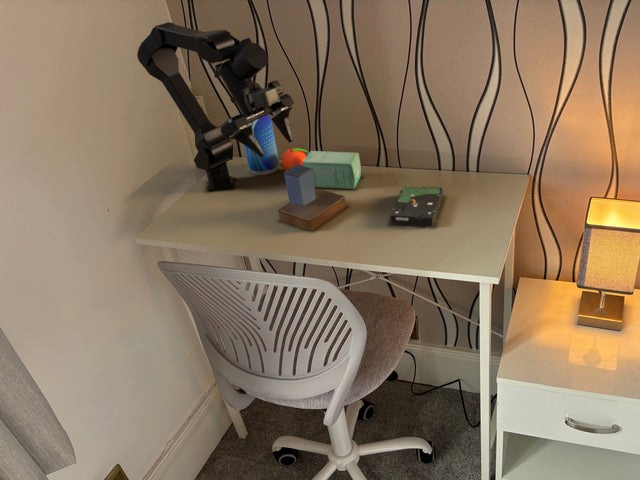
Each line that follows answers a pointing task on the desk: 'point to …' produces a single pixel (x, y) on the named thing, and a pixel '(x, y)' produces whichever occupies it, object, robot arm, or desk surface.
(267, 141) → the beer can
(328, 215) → the brown flat block
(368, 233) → the desk surface
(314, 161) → the box
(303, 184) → the small box
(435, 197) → the disk drive
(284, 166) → the clementine
